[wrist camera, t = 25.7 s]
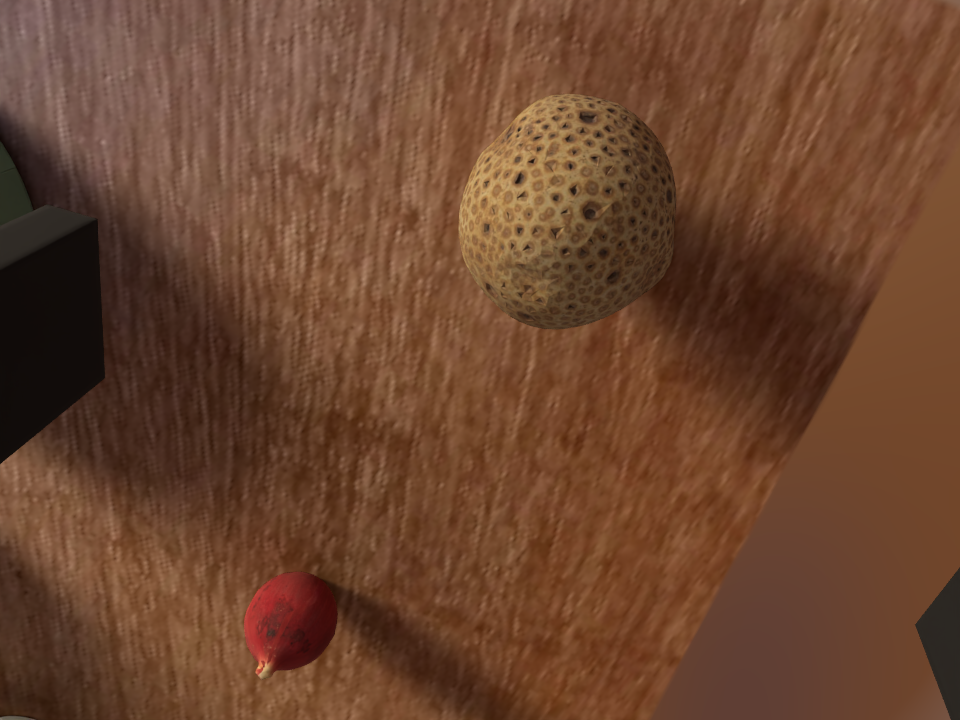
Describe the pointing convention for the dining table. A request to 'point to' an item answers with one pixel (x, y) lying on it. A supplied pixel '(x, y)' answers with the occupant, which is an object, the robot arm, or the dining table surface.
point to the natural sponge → (569, 213)
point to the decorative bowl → (15, 718)
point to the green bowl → (11, 190)
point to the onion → (290, 622)
